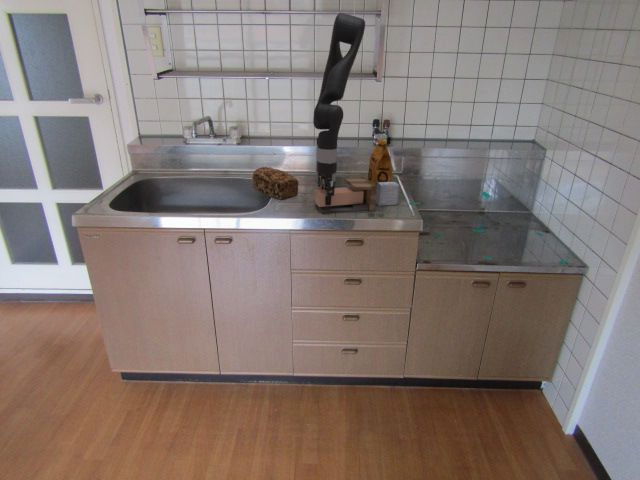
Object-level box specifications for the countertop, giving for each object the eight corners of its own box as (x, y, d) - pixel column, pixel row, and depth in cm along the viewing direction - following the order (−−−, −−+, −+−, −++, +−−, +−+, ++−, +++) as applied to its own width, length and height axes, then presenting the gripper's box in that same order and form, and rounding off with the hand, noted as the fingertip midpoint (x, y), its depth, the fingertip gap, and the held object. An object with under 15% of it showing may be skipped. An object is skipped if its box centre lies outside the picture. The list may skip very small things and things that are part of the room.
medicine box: (393, 201, 182) (395, 181, 179) (397, 205, 178) (399, 184, 175) (375, 202, 181) (377, 182, 177) (378, 206, 177) (380, 185, 173)
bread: (252, 190, 191) (251, 167, 186) (271, 185, 198) (270, 163, 193) (280, 201, 179) (280, 177, 175) (299, 195, 186) (299, 172, 182)
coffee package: (369, 195, 189) (373, 144, 179) (365, 186, 200) (369, 137, 191) (392, 195, 189) (398, 144, 180) (387, 186, 200) (392, 138, 191)
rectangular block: (314, 201, 173) (314, 189, 171) (357, 198, 178) (358, 186, 176) (319, 206, 168) (319, 194, 166) (362, 203, 173) (363, 191, 171)
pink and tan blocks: (314, 204, 176) (314, 180, 172) (362, 200, 182) (364, 177, 178) (323, 215, 166) (324, 189, 162) (374, 210, 172) (376, 185, 168)
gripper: (311, 155, 169) (311, 196, 176) (323, 165, 157) (321, 209, 164) (330, 154, 171) (328, 195, 178) (343, 164, 159) (340, 207, 166)
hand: (325, 202), depth 171 cm, fingers closed on rectangular block, 6 cm apart
